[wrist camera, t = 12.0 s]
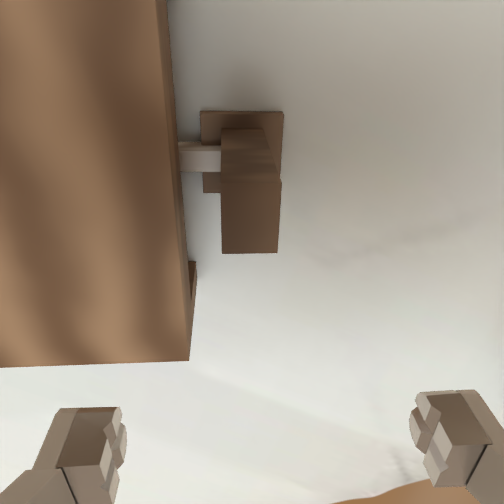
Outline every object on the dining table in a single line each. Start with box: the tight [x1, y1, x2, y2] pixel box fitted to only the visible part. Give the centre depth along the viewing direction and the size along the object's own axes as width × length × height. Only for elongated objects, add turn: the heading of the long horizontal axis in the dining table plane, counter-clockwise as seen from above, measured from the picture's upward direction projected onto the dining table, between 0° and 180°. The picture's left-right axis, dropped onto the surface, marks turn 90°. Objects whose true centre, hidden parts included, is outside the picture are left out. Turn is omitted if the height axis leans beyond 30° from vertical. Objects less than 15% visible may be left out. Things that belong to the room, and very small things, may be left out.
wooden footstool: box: [0, 0, 197, 368], centre depth 25 cm, size 16×24×10 cm, turn 179°
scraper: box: [178, 111, 284, 254], centre depth 25 cm, size 24×7×12 cm, turn 89°
